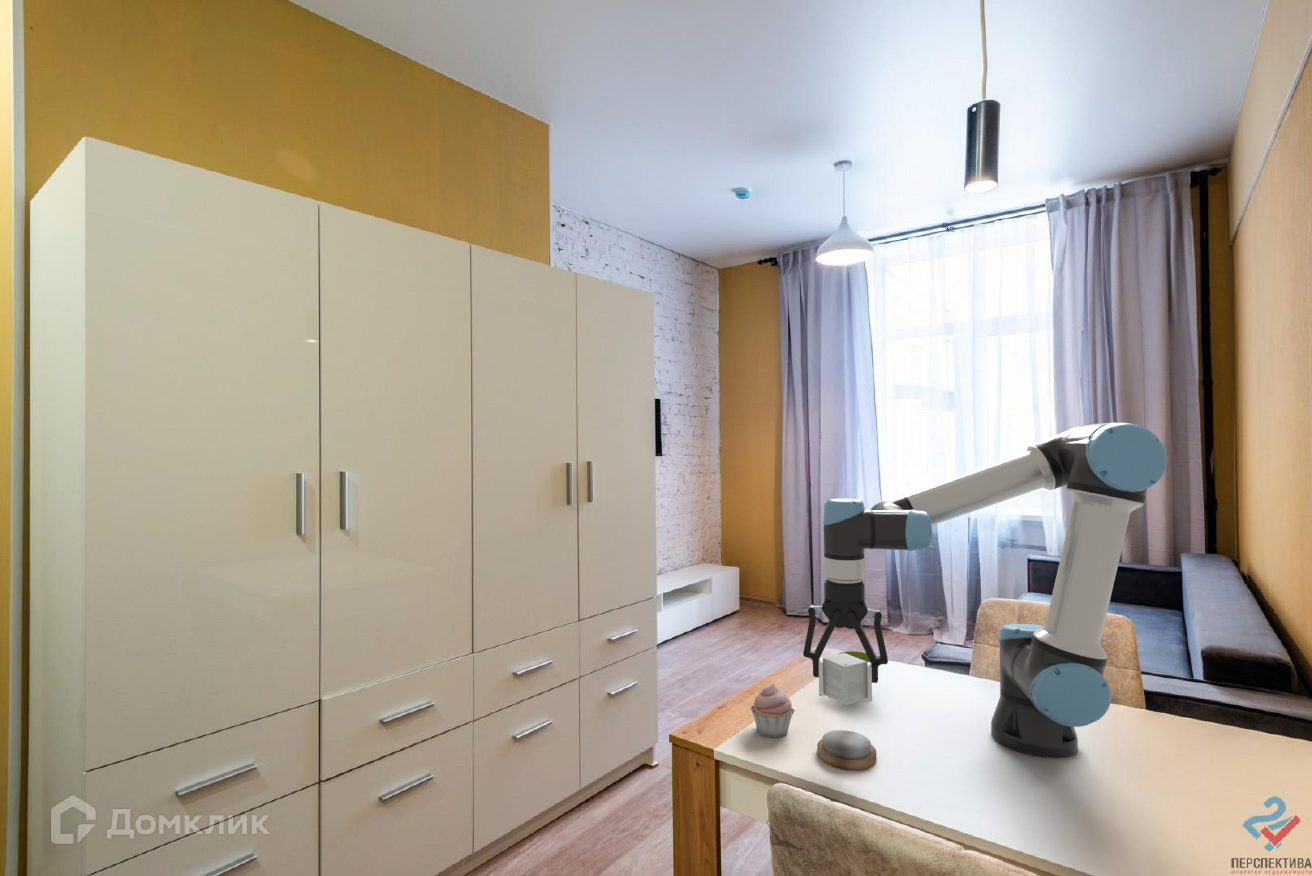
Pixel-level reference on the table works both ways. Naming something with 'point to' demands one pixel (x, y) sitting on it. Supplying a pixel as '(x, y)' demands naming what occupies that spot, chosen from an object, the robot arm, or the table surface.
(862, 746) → the pedestal
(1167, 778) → the table surface
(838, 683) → the product box
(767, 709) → the cupcake
